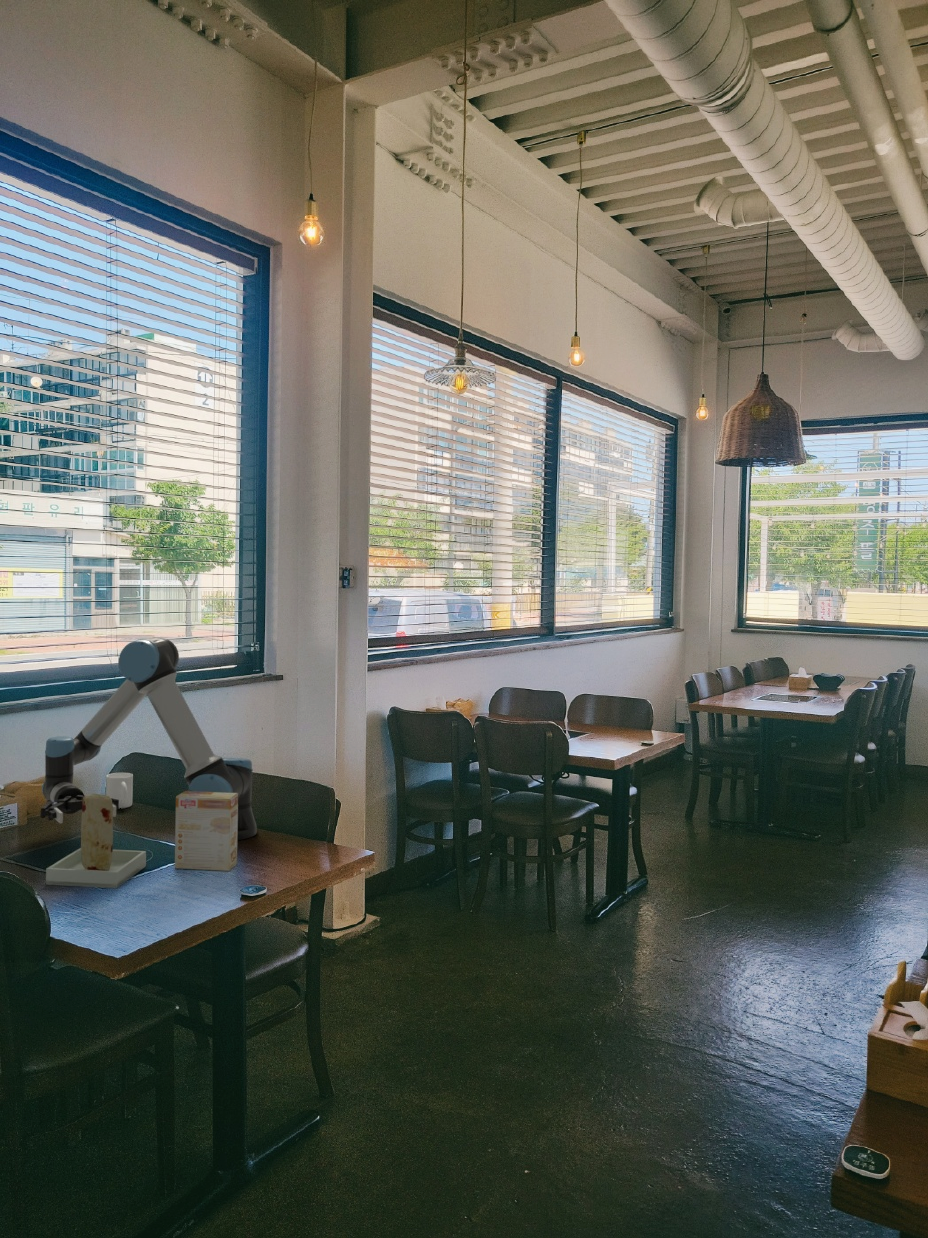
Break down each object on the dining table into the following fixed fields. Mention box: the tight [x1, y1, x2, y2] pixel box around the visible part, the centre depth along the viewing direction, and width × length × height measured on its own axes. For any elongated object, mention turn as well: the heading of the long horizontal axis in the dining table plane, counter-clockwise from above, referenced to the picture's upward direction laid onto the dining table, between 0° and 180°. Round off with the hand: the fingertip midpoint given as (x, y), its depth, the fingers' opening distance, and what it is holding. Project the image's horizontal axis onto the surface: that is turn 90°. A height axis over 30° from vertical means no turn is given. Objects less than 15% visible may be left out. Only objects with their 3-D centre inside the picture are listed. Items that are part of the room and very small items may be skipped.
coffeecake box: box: [174, 790, 238, 872], centre depth 250 cm, size 15×7×20 cm, turn 86°
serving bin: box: [45, 847, 147, 889], centre depth 240 cm, size 18×18×4 cm
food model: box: [80, 793, 114, 871], centre depth 240 cm, size 10×7×20 cm
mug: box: [105, 772, 134, 810], centre depth 309 cm, size 12×8×10 cm
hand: (88, 815), depth 247 cm, fingers open, 13 cm apart
